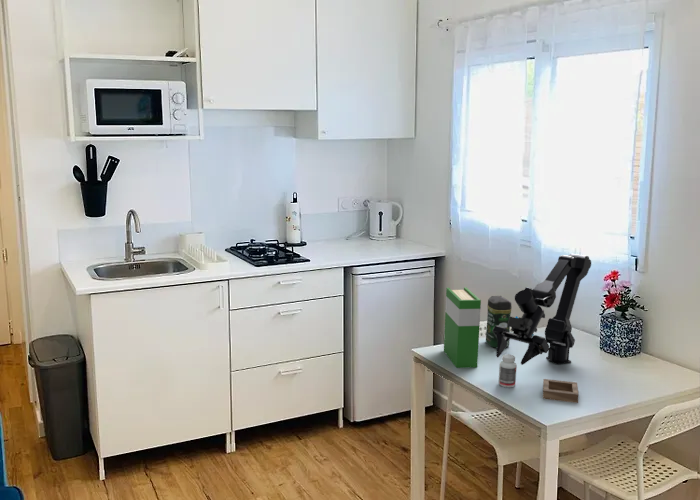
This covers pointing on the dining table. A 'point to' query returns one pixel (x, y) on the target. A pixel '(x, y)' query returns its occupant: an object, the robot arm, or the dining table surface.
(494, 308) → the coffee jar
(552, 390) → the socket block
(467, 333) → the hardback book
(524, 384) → the dining table surface
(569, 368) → the dining table surface
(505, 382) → the pill bottle
